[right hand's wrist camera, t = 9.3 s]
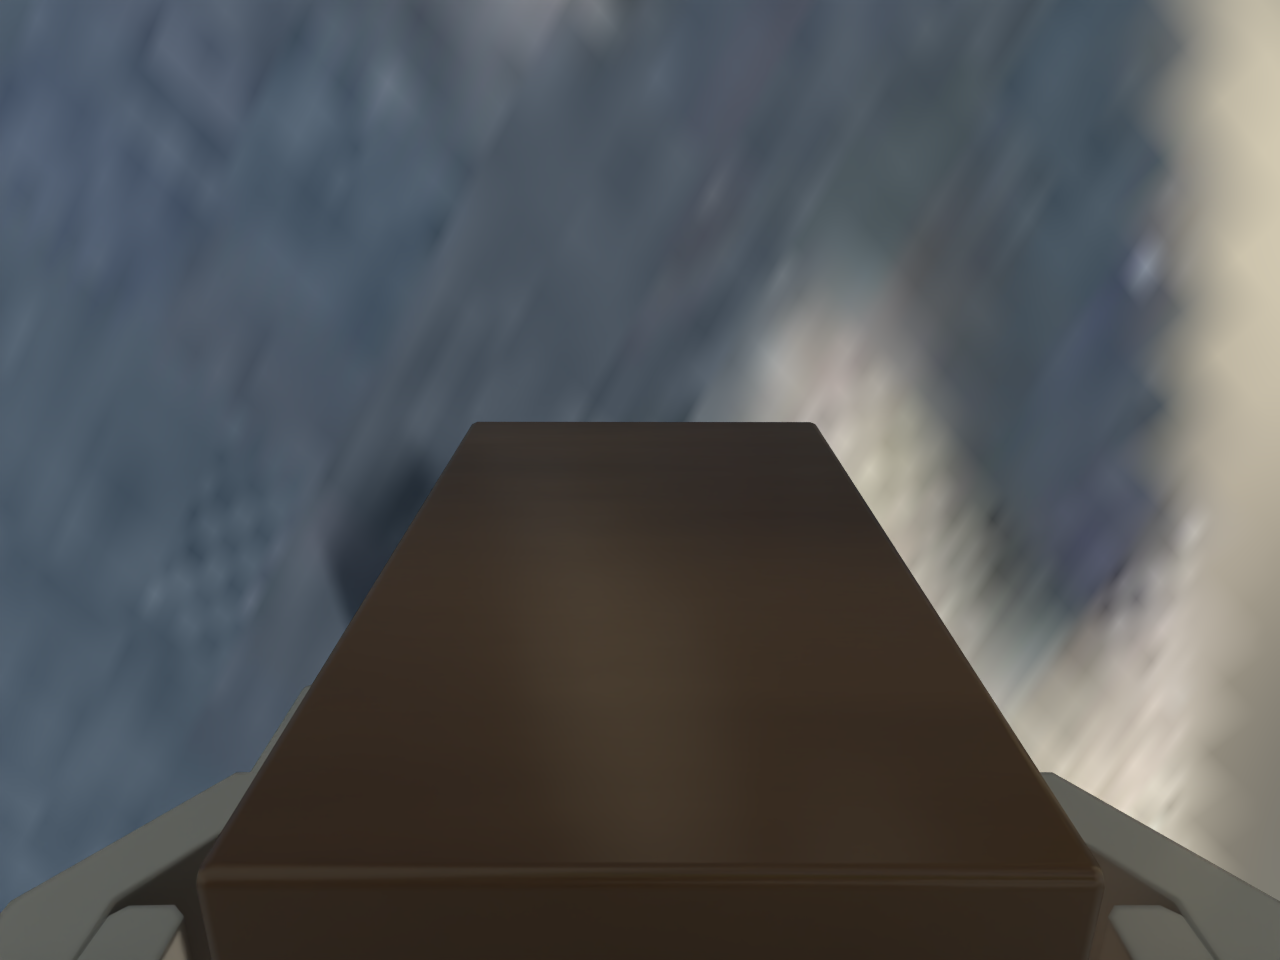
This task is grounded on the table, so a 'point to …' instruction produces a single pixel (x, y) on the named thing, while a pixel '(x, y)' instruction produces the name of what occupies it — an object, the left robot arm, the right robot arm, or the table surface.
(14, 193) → the table surface
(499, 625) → the bar
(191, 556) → the table surface
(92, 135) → the table surface
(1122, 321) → the table surface
